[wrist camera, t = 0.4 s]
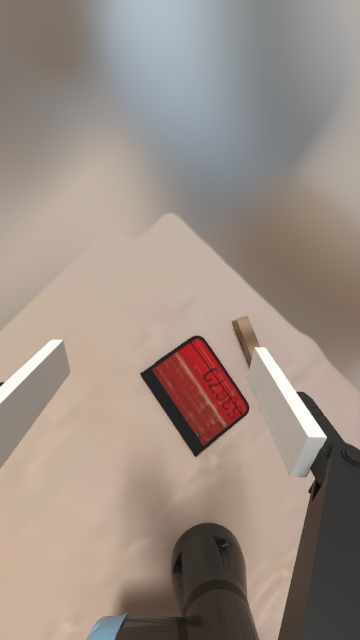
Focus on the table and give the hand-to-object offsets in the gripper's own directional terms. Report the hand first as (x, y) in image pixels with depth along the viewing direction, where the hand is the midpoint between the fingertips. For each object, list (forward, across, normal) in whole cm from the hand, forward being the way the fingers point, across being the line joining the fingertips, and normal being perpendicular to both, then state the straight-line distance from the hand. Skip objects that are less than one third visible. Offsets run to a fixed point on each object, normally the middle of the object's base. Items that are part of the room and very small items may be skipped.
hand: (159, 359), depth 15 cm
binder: (+24, -6, +25) cm, 35 cm away
